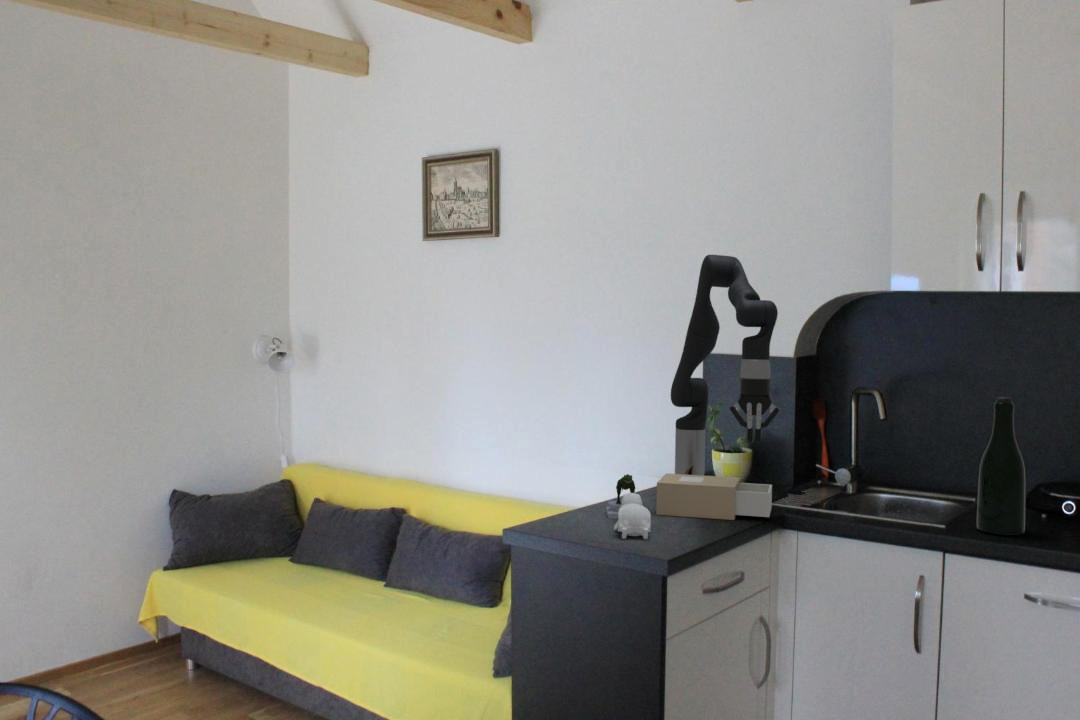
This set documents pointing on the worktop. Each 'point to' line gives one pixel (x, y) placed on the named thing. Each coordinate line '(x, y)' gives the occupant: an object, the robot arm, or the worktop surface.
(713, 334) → the robot arm
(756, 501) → the tray
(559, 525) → the worktop surface
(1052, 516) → the worktop surface
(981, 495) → the beer bottle
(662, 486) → the sleeve
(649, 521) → the white animal figurine
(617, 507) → the dinosaur figurine
